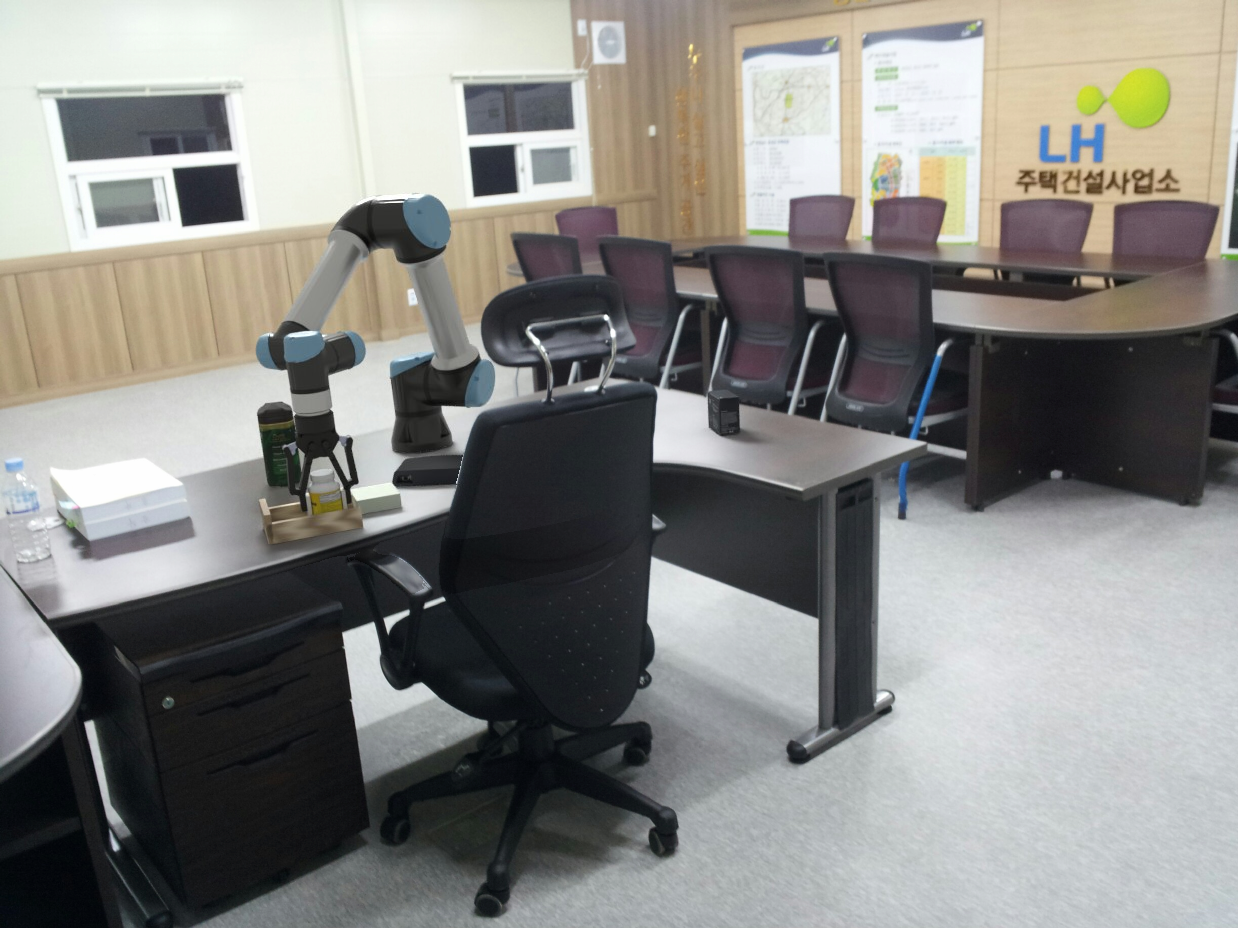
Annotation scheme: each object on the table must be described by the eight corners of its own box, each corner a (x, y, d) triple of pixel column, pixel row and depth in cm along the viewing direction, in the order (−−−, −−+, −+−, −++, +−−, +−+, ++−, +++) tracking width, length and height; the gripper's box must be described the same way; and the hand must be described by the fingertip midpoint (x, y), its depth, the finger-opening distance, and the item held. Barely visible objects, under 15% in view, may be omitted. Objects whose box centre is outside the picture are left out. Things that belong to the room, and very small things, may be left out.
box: (741, 433, 265) (740, 396, 263) (719, 436, 264) (718, 398, 262) (728, 425, 274) (727, 388, 271) (707, 427, 273) (706, 391, 270)
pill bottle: (312, 522, 220) (304, 470, 217) (342, 517, 222) (335, 465, 219) (315, 531, 215) (307, 478, 212) (346, 526, 217) (339, 473, 214)
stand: (393, 495, 235) (391, 482, 234) (401, 506, 226) (400, 493, 226) (351, 502, 231) (349, 489, 230) (358, 514, 223) (356, 501, 222)
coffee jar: (304, 485, 246) (292, 406, 241) (268, 490, 244) (255, 410, 238) (302, 474, 255) (290, 397, 249) (267, 479, 253) (255, 401, 247)
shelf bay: (353, 511, 226) (350, 483, 224) (363, 527, 216) (359, 498, 214) (263, 527, 219) (258, 499, 218) (268, 544, 209) (264, 515, 207)
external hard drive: (404, 472, 253) (402, 455, 252) (486, 468, 252) (485, 451, 250) (390, 489, 240) (388, 472, 239) (476, 485, 239) (475, 468, 238)
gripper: (359, 400, 219) (373, 508, 225) (260, 414, 212) (278, 525, 218) (365, 408, 212) (379, 519, 218) (264, 422, 205) (282, 536, 212)
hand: (329, 522), depth 218 cm, fingers closed on pill bottle, 6 cm apart
